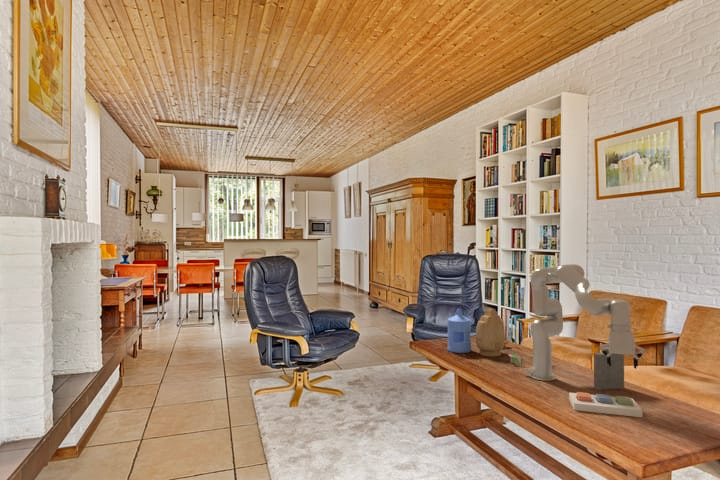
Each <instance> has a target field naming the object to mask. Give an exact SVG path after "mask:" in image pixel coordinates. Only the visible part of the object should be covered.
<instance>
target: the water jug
mask: <svg viewBox="0 0 720 480" xmlns="http://www.w3.org/2000/svg"><path fill="white" fill-rule="evenodd" d="M462 309H463V308H456V315H454V316H453V315H452V316H451V317H449V318H447V325H446V326H447V334H446V336H447V350H448V351H449V352H450V353H456V354H466V353H470V352H471V351H472V340H471V331H472V321H471V319H470V318H468V317H466V316H464V315H463V314H462Z"/></svg>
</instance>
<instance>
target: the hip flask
mask: <svg viewBox="0 0 720 480" xmlns="http://www.w3.org/2000/svg"><path fill="white" fill-rule="evenodd" d="M604 350H605V351H606V352H608V351H609V347H605V348H604ZM610 357H611V366H609V364H607V356H606V355H605V354H604V353H603V352H596V353H595V352H594V353H593V389H594V390H595V391H602V390H603V391H604V390H615V389H616V390H617V389H618V390H620V389H621V390H623V389H625V355H622V354H611V355H610Z"/></svg>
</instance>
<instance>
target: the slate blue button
mask: <svg viewBox="0 0 720 480" xmlns="http://www.w3.org/2000/svg"><path fill="white" fill-rule="evenodd" d="M595 395H596V400H597V402H598V403H607V404H612V399H611V397H612V396H611V397H610V394H605V393H604V394H602V393H595Z"/></svg>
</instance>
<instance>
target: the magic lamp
mask: <svg viewBox="0 0 720 480" xmlns="http://www.w3.org/2000/svg"><path fill="white" fill-rule="evenodd" d="M511 331H512V330H509V331H508V335H507V337H505V342H504V347H503V349H507V348H508V347H507V346H506V345H508V344H509V343H510V342H509V341H510V340H509V339H507V338H509V336H510V338H512V334H511Z"/></svg>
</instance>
